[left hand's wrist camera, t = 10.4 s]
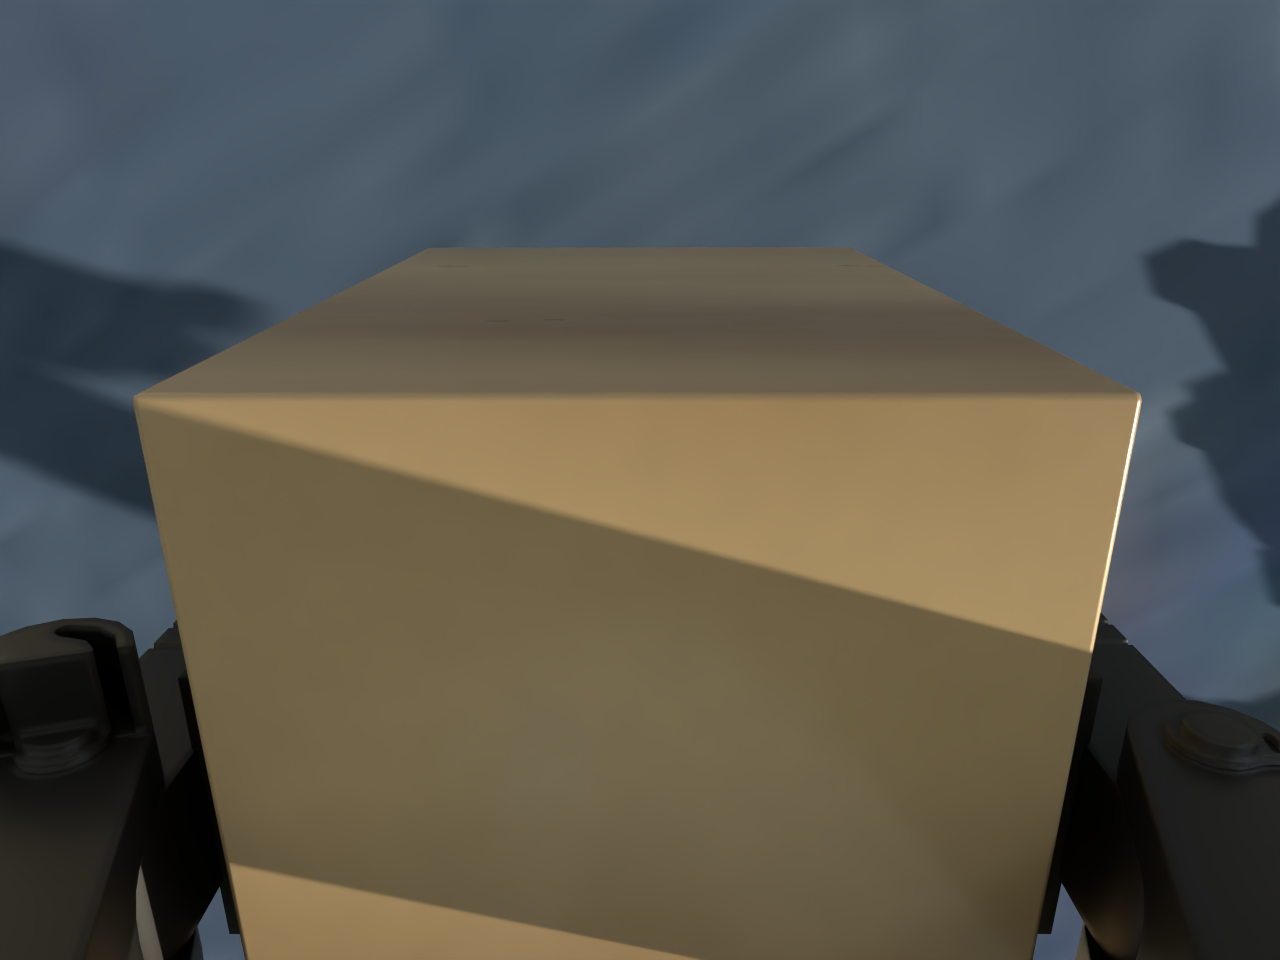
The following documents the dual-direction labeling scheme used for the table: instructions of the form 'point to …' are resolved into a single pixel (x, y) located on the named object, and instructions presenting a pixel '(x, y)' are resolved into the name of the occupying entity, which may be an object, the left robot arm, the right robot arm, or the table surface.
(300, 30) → the table surface
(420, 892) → the ash beam
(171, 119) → the table surface
